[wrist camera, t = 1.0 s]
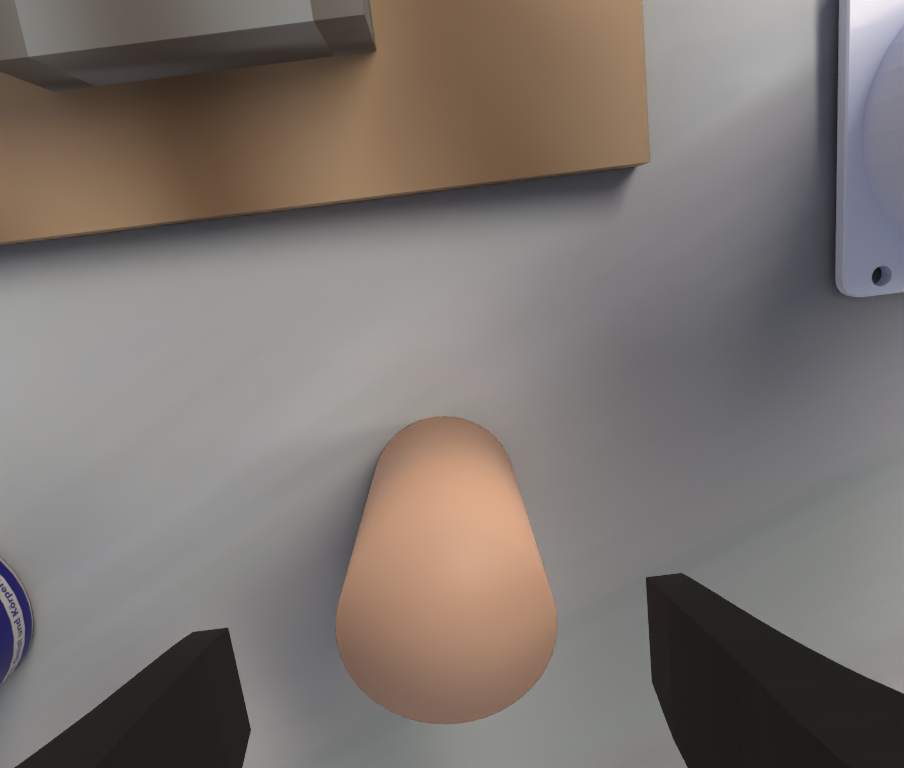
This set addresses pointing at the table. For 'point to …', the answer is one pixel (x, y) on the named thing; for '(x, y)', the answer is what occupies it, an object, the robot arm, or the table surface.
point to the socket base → (301, 104)
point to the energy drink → (13, 621)
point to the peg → (445, 580)
